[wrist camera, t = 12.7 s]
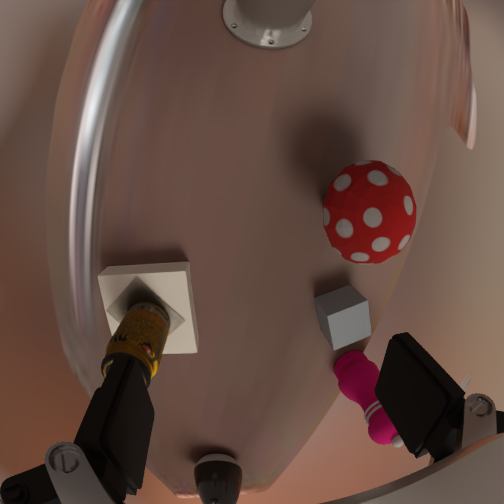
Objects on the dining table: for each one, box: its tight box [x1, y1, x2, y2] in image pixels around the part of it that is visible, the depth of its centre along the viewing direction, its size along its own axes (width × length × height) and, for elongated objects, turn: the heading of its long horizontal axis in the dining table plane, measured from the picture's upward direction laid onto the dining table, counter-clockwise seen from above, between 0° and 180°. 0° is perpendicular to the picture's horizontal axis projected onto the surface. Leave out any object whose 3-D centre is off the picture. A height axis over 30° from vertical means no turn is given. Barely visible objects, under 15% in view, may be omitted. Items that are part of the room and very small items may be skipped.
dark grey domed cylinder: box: [194, 453, 242, 504], centre depth 43 cm, size 10×10×15 cm
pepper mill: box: [334, 351, 404, 447], centre depth 36 cm, size 7×7×20 cm
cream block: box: [98, 261, 199, 354], centre depth 37 cm, size 12×12×4 cm
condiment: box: [101, 277, 185, 388], centre depth 29 cm, size 7×8×12 cm
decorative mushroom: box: [323, 160, 416, 265], centre depth 30 cm, size 11×11×15 cm
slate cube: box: [314, 285, 371, 350], centre depth 39 cm, size 6×6×6 cm
